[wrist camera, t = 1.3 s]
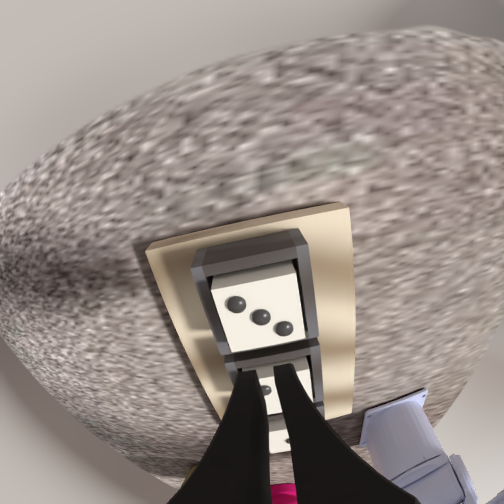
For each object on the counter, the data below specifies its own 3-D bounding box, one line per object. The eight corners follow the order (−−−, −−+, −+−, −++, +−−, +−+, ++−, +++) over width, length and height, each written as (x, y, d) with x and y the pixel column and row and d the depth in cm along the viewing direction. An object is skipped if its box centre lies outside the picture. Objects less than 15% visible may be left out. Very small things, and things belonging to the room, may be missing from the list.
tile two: (308, 385, 19) (313, 407, 17) (254, 395, 19) (255, 418, 17) (303, 347, 17) (309, 370, 15) (242, 359, 17) (242, 383, 15)
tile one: (313, 427, 21) (317, 446, 19) (269, 435, 21) (271, 454, 19) (310, 403, 20) (315, 424, 18) (260, 413, 20) (262, 434, 18)
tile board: (347, 402, 24) (358, 432, 21) (230, 424, 25) (230, 456, 21) (340, 201, 17) (366, 219, 13) (152, 242, 17) (130, 269, 14)
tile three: (298, 317, 16) (306, 340, 14) (232, 330, 16) (231, 354, 14) (289, 255, 15) (296, 274, 13) (214, 271, 15) (210, 291, 13)
